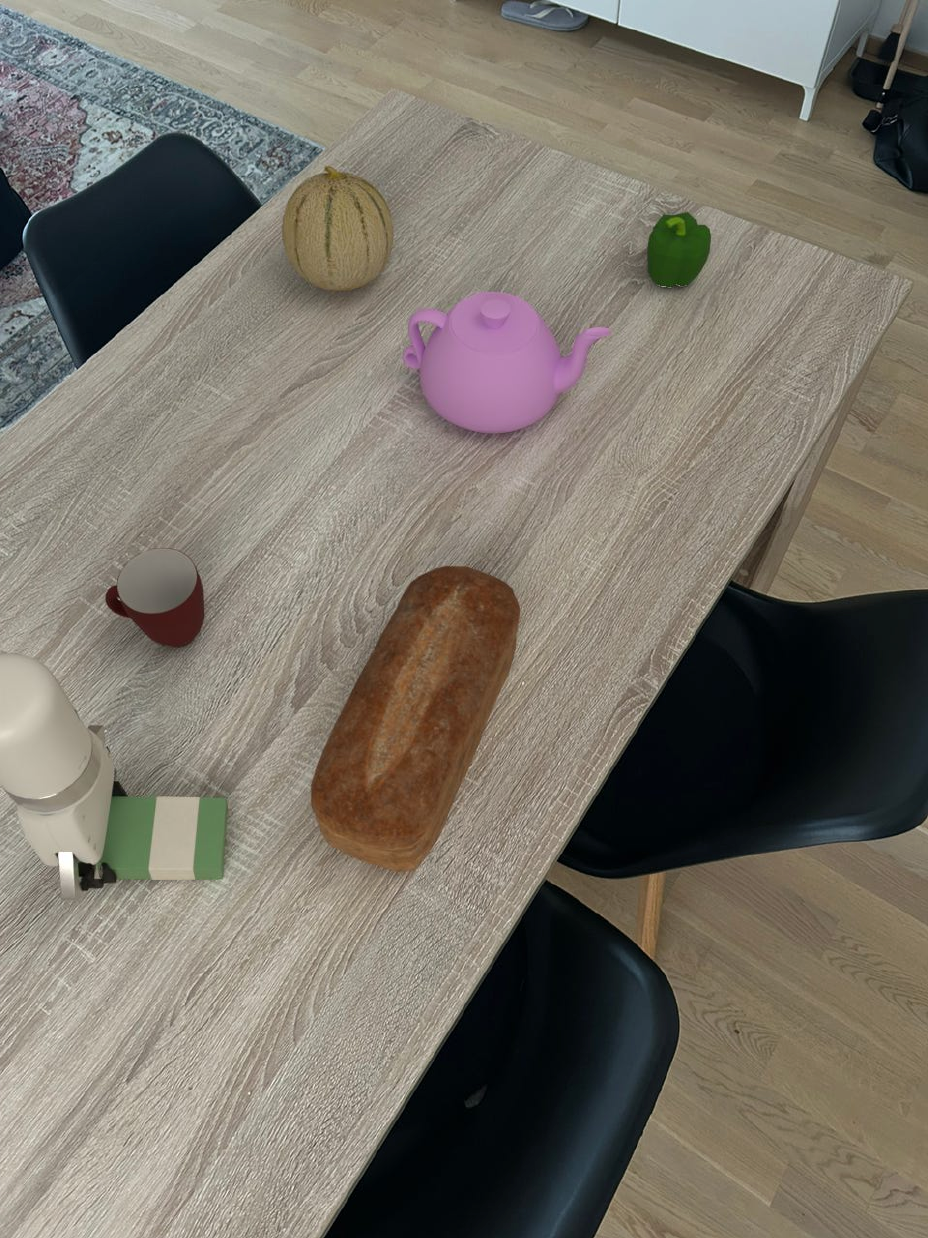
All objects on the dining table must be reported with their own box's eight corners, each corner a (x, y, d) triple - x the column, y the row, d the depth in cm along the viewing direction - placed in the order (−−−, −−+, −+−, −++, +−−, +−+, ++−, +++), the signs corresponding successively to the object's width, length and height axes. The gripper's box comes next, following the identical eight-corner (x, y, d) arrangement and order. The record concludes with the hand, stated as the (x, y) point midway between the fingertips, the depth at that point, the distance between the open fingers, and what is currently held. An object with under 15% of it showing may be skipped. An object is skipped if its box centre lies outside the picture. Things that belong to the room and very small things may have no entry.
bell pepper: (692, 254, 146) (707, 192, 137) (707, 294, 142) (724, 232, 133) (633, 258, 145) (645, 196, 137) (647, 299, 141) (660, 237, 132)
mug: (111, 664, 110) (83, 614, 101) (124, 600, 114) (98, 546, 106) (211, 664, 110) (192, 614, 102) (220, 600, 114) (203, 547, 106)
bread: (301, 850, 100) (283, 796, 88) (425, 599, 115) (423, 525, 103) (418, 896, 97) (415, 848, 86) (529, 635, 113) (539, 564, 101)
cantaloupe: (321, 329, 137) (309, 233, 124) (269, 265, 143) (252, 167, 130) (417, 288, 141) (414, 192, 128) (362, 228, 148) (355, 130, 135)
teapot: (384, 425, 128) (379, 341, 116) (420, 327, 137) (419, 240, 126) (584, 463, 126) (599, 382, 114) (607, 361, 135) (623, 275, 123)
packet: (78, 880, 96) (73, 869, 93) (89, 807, 100) (84, 795, 97) (222, 880, 98) (221, 869, 95) (228, 809, 102) (226, 796, 99)
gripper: (20, 667, 87) (78, 754, 102) (-22, 872, 78) (49, 934, 93) (112, 666, 87) (156, 753, 102) (81, 869, 78) (134, 932, 93)
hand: (105, 839), depth 97 cm, fingers closed on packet, 7 cm apart
